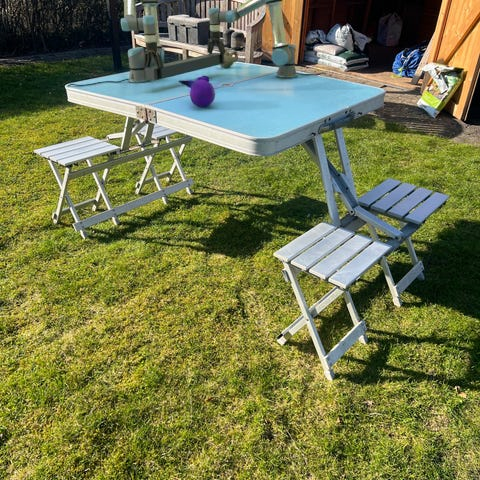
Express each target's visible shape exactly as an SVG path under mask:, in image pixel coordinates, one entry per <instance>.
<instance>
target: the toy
mask: <svg viewBox="0 0 480 480" xmlns="http://www.w3.org/2000/svg"><path fill="white" fill-rule="evenodd" d="M178 83H179V84H182V85H184V86H185V87H188V88H190V89H189V97H190V101H191V103H192V104H193V105H194V106H196V107H198V108H203V109H205V108H208V107H210V106H211V105H212V104H213V102H214V101H215V98H216V91H215V88H214V85H213V84H212V83H211V82H210V78H209V77H208V76H207V75H202V76H198V77H197V79H196V80H178Z"/></svg>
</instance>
